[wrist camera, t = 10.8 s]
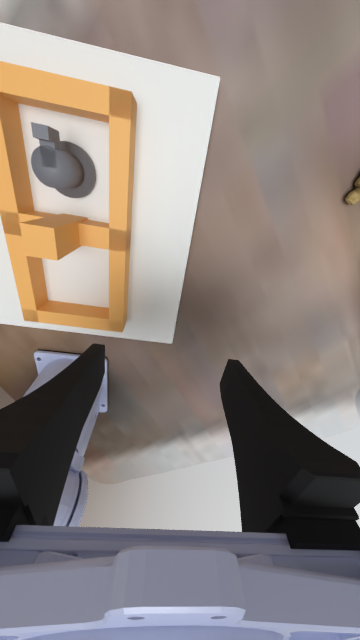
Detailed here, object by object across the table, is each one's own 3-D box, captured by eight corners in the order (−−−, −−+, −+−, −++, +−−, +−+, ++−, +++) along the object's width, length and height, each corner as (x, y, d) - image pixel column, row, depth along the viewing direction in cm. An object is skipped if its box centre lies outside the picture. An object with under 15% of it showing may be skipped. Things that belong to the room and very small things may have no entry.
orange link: (126, 321, 22) (113, 357, 17) (36, 309, 21) (-5, 345, 16) (136, 103, 14) (117, 58, 9) (-9, 70, 13) (-116, 1, 8)
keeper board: (172, 335, 24) (171, 369, 20) (-2, 314, 23) (-47, 346, 18) (216, 87, 14) (236, 38, 10) (-89, 12, 13) (-242, -90, 8)
